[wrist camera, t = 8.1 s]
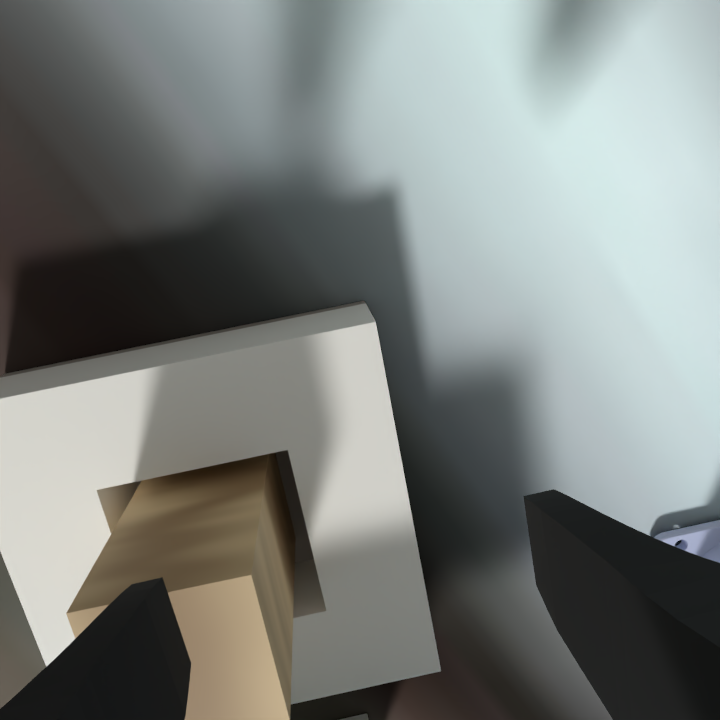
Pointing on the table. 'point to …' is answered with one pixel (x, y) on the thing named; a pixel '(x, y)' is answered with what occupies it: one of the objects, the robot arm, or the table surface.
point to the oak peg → (212, 581)
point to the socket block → (222, 445)
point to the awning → (357, 717)
